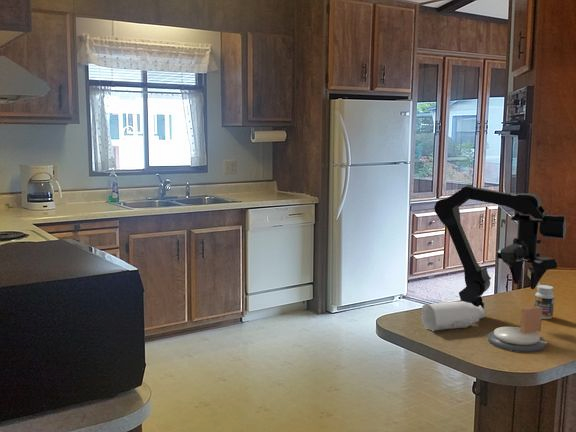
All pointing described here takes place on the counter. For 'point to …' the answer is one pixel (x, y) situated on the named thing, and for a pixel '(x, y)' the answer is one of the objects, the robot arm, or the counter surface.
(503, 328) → the dial
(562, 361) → the counter surface
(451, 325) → the white bottle
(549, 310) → the pill bottle
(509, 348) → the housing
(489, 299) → the counter surface
